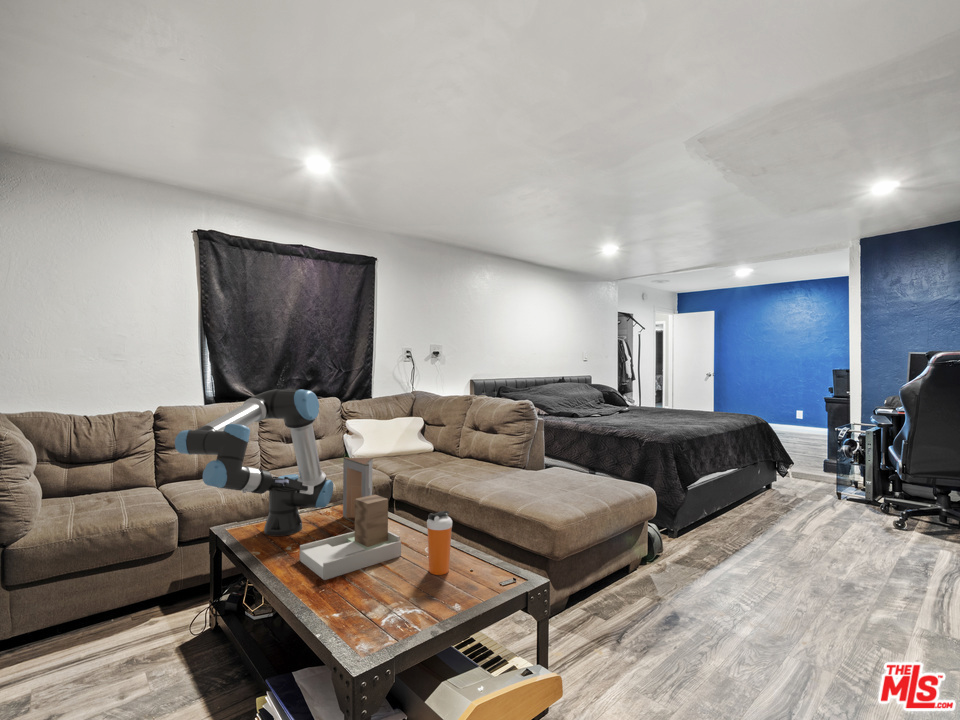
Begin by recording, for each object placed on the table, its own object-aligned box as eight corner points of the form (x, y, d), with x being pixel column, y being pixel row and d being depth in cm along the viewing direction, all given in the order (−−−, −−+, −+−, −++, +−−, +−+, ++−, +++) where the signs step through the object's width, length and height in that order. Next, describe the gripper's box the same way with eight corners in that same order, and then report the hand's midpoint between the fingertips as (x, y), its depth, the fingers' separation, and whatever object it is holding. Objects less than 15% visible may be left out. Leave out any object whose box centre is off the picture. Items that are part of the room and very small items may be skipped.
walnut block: (354, 540, 180) (355, 499, 180) (374, 534, 186) (374, 494, 187) (367, 547, 174) (368, 503, 174) (387, 540, 180) (388, 499, 180)
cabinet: (342, 517, 220) (343, 457, 220) (361, 512, 226) (362, 454, 227) (365, 528, 204) (365, 464, 205) (384, 523, 211) (384, 461, 211)
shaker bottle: (457, 570, 164) (457, 513, 164) (438, 578, 157) (438, 519, 157) (440, 563, 170) (440, 507, 170) (421, 570, 163) (421, 513, 163)
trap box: (299, 560, 171) (299, 541, 171) (372, 540, 191) (372, 523, 191) (324, 580, 155) (324, 559, 156) (401, 555, 176) (401, 537, 176)
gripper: (239, 495, 152) (298, 503, 170) (266, 489, 146) (323, 498, 165) (243, 472, 155) (300, 482, 174) (269, 465, 150) (325, 477, 168)
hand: (311, 490), depth 169 cm, fingers closed
